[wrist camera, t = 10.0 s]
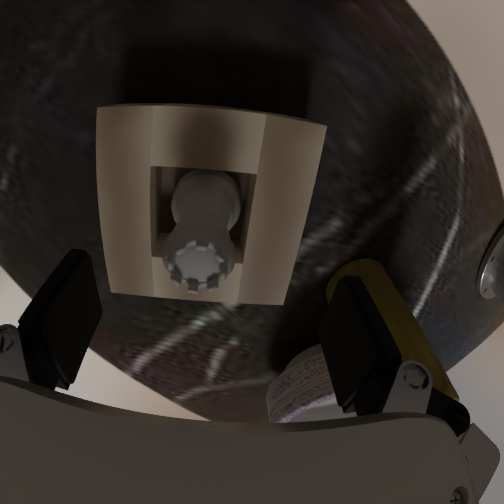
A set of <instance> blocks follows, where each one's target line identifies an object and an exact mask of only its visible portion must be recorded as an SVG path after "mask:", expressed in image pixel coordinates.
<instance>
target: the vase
mask: <svg viewBox="0 0 504 504" xmlns="http://www.w3.org/2000/svg"><path fill="white" fill-rule="evenodd" d="M345 275H350V276H359V277H360V278H361V279H362V281H363V283H364V285H365V286H366V288H367V290H368V292H369V293H370V295H371V297H372V299H373V301H374V302H375V304H376V306H377V308H378V310H379V312H380V313H381V315H382V317H383V319H384V321H385V323H386V325H387V327H388V329H389V330H390V332H391V334H392V336H393V338H394V340H395V342H396V344H397V346H398V348H399V350H400V352H401V354H402V357H401V359H402V362H405V361H409V360H412V361H417V362H419V363H421V364H423V365H424V366H425V367H426V368H427V369H428V370H429V372H430V373H431V376H432V379H433V382H432V387H434V388H435V389H437V390H439V391H440V392H442V393H444V394H446V395H447V396H449V397H451V398H453V399H454V400H456V401H459V396H458V394H457V392H456V391H455V389H454V387H453V386H452V384H451V382H450V380H449V378H448V376H447V374H446V372H445V371H444V369H443V367H442V365H441V363H440V361H439V359H438V357H437V356H436V354H435V352H434V350H433V348H432V347H431V345H430V343H429V341H428V339H427V338H426V336H425V334H424V333H423V331H422V329H421V328H420V326H419V324H418V322H417V321H416V319H415V317H414V316H413V314H412V312H411V311H410V309H409V307H408V306H407V304H406V303H405V301H404V299H403V298H402V296H401V295H400V293H399V292H398V290H397V289H396V287H395V286H394V284H393V283H392V281H391V279H390V278H389V276H388V275H387V273H386V271H385V269H384V267H383V265H382V264H381V263H379V262H378V261H376V260H373V259H369V258H363V259H357V260H354V261H351V262H349V263H347V264H346V265H344V266H342V267H341V268H340V269H339V270H338V271H337V272H336V273H335V274H334V275H333V276H332V277H331V279H330V281H329V283H328V285H327V288H326V299H327V302H328V304H329V303H330V300H331V298H332V295H333V293H334V290H335V288H336V285H337V282H338V280H339V279H342V278H343V277H344V276H345Z"/></svg>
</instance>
